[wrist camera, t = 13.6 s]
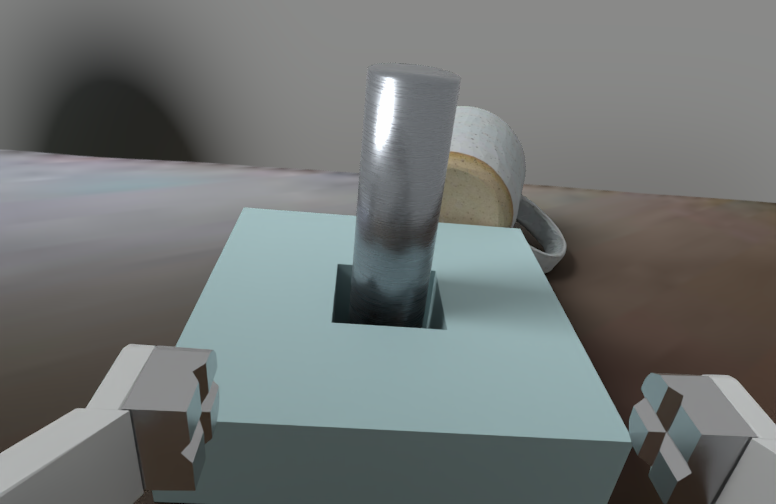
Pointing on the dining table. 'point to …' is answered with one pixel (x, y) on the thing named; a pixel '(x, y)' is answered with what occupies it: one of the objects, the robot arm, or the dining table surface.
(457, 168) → the ceramic mug
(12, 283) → the dining table surface
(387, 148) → the pin
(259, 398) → the socket block
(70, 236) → the dining table surface
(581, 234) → the dining table surface
